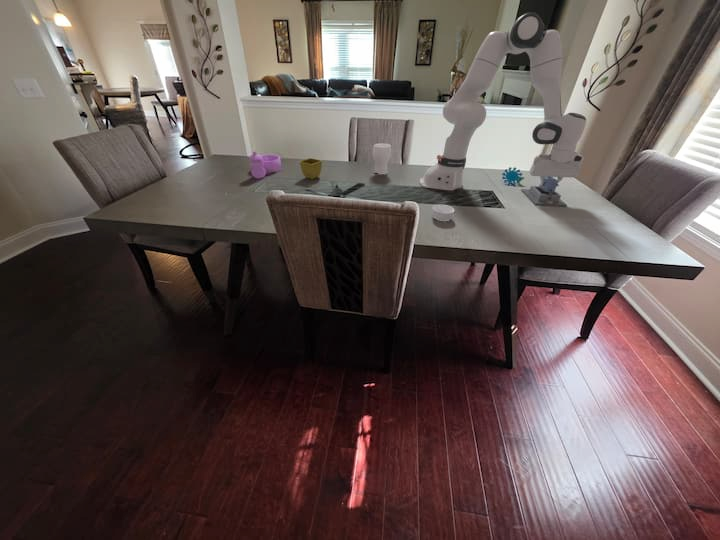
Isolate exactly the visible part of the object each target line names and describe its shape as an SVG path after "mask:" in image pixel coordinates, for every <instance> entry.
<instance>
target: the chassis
mask: <svg viewBox="0 0 720 540" xmlns="http://www.w3.org/2000/svg"><path fill="white" fill-rule="evenodd" d="M529 188H530V189H526V188H521V189H520V191H521V192H522V193H523V194H524V196H525V197H526V198H527V199H528V200H529V201H530V202H531V203H532V204H533V205H534V206H545V207H563V208H565V207H566V208H567V207H568V204H567V203H565V201H564V200H562V199H561V197H562V195H561V194H559V192H557V190H555V191H554V192H545V191H544V190H543V189H542V188H540V187H539V185H531V186H530V187H529Z"/></svg>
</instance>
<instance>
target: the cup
mask: <svg viewBox="0 0 720 540" xmlns="http://www.w3.org/2000/svg"><path fill="white" fill-rule="evenodd" d="M392 151H393V150H392V146H391V144H389V143H382V142H381V143H374V145H373V147H372V158H373V161H374V162H375V163H374V164H375V166H374V172H375V173H378V174H377V175H379V174H384V175H387V174H388V163H389V160H390V159H391V156H392ZM374 172H373V173H374ZM375 173H374V174H375Z"/></svg>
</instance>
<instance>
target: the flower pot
mask: <svg viewBox="0 0 720 540" xmlns="http://www.w3.org/2000/svg"><path fill="white" fill-rule="evenodd" d="M299 165H300V168H301V169H300V170H301V173H302V174H303V176H304V178H306V179H309V178H310V180H315V179H317V178H319V177H320V175H321V172H322V168H323V167H322V166H323V160H320V159H316V158H311V157H310V158H306V159H304V160H300V161H299ZM316 177H317V178H316ZM314 178H315V179H314Z"/></svg>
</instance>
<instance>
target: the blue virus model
mask: <svg viewBox="0 0 720 540" xmlns="http://www.w3.org/2000/svg"><path fill="white" fill-rule="evenodd" d="M522 176H523V173H522V172H521V170H520V169H518V170H517V167H513V168H512V167H508V169H507V168H506V169H504V172H502V178H501V180H503V183H504V184H506V183H507V182H508V183H507V185H508V186H510V185H511V183H512V185H513V186H515V185H516V184H519V183H521V181H523V180H524V179H525V176H523V177H522Z"/></svg>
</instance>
